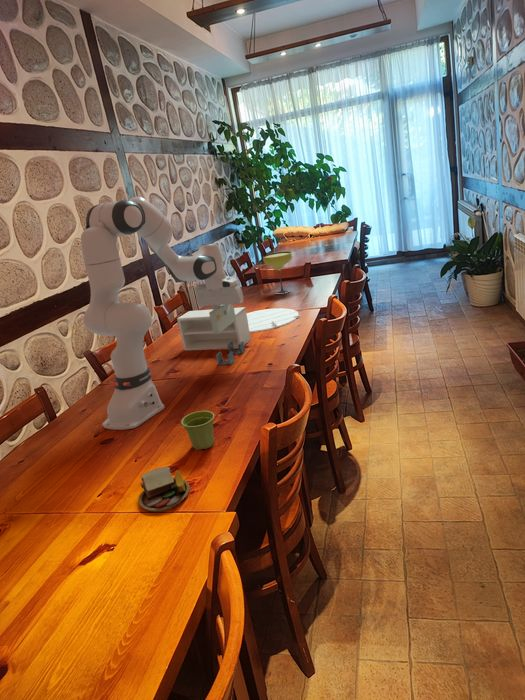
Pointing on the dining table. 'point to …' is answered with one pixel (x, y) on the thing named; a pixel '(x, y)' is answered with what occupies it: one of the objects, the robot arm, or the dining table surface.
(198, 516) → the dining table surface
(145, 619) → the dining table surface
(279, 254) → the cocktail glass
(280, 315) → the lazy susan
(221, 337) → the cabinet
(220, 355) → the hinge clips
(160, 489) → the toy sandwich meal
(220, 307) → the pale blue panel
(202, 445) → the plant pot
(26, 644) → the dining table surface
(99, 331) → the robot arm
